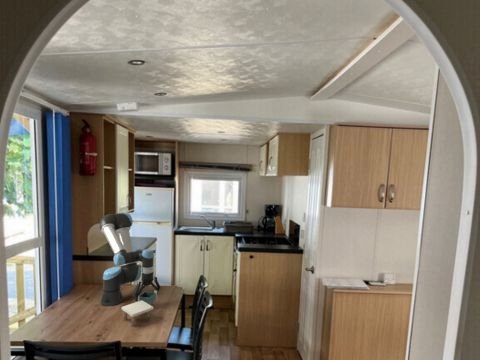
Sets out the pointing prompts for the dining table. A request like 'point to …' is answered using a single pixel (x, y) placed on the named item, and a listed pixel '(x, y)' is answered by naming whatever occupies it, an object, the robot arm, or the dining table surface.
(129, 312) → the footstool
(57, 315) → the dining table surface
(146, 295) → the flower pot
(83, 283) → the dining table surface
